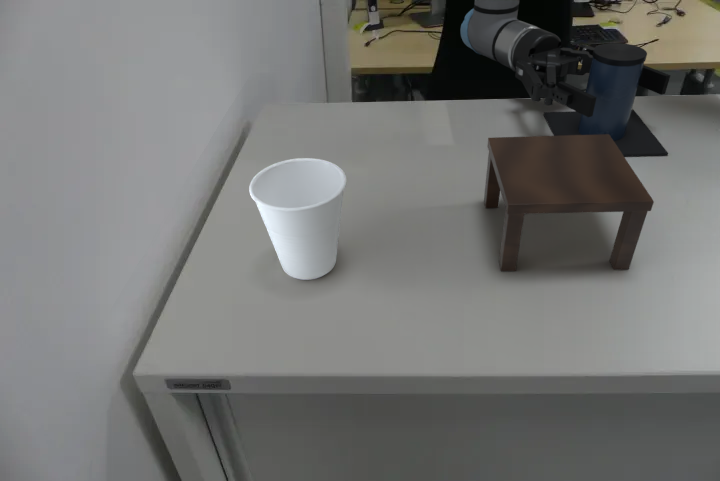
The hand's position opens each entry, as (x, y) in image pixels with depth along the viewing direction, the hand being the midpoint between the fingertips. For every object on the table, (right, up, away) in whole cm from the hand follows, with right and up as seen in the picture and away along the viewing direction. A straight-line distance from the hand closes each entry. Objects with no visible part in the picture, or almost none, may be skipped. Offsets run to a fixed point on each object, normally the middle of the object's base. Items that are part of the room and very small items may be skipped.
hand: (630, 96), depth 77 cm
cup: (-43, -23, -13) cm, 50 cm away
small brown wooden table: (-15, -19, -11) cm, 27 cm away
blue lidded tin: (-1, -4, +7) cm, 8 cm away
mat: (-1, -4, +7) cm, 8 cm away
